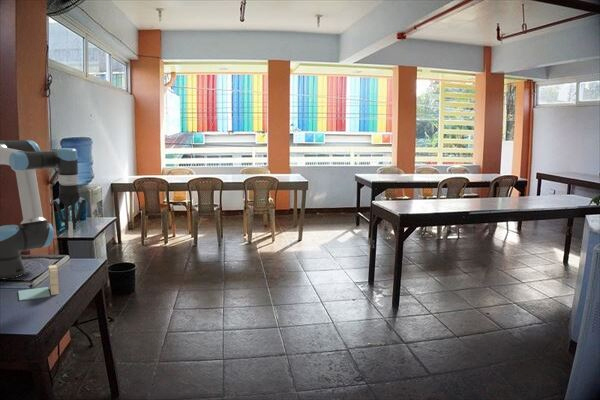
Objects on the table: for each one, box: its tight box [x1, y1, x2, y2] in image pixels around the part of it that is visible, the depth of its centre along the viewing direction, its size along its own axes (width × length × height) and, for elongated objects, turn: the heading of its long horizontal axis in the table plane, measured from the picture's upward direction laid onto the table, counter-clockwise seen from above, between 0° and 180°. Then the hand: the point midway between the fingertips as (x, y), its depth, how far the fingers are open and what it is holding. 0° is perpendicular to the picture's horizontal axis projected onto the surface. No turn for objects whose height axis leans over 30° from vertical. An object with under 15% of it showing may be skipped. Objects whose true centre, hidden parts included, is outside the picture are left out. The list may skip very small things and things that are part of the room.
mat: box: [18, 286, 51, 302], centre depth 205 cm, size 11×12×1 cm
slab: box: [47, 264, 60, 296], centre depth 209 cm, size 8×3×11 cm, turn 32°
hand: (70, 236), depth 209 cm, fingers closed
